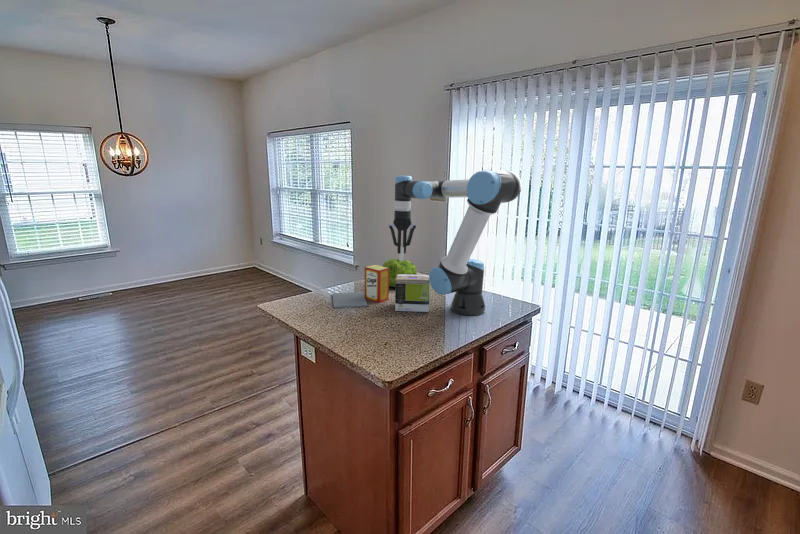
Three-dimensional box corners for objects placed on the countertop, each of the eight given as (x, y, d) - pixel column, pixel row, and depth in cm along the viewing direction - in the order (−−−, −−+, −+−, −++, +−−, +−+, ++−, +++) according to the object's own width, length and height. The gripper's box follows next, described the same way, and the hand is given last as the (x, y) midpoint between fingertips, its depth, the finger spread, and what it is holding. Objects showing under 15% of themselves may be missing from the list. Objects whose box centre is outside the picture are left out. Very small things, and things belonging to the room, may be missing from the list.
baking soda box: (388, 299, 187) (388, 267, 183) (379, 303, 182) (379, 269, 179) (374, 295, 193) (374, 263, 189) (364, 298, 188) (364, 266, 185)
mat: (367, 306, 177) (367, 305, 177) (334, 308, 174) (334, 306, 174) (362, 293, 196) (362, 291, 196) (332, 294, 193) (332, 293, 193)
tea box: (429, 305, 181) (430, 274, 177) (428, 313, 171) (430, 280, 167) (396, 303, 182) (397, 272, 178) (394, 311, 172) (395, 278, 169)
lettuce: (422, 289, 214) (423, 262, 215) (403, 286, 196) (405, 256, 197) (396, 289, 222) (398, 262, 223) (376, 286, 204) (378, 257, 205)
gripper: (414, 209, 185) (412, 258, 191) (387, 209, 182) (386, 258, 188) (418, 211, 178) (416, 261, 184) (390, 210, 175) (389, 262, 181)
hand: (401, 260), depth 186 cm, fingers closed
